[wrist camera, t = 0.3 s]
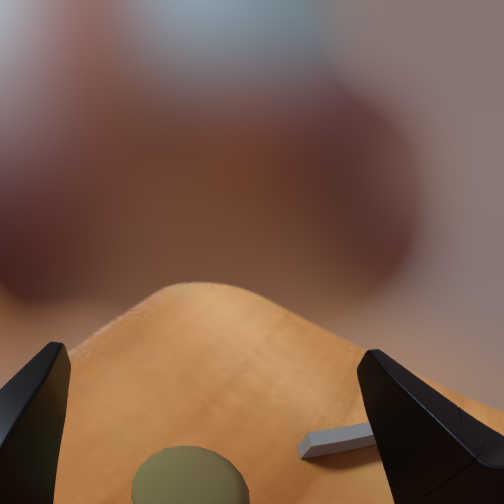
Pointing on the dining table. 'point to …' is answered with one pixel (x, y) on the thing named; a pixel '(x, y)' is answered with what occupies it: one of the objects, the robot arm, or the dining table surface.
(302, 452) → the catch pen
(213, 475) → the olive pawn
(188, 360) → the dining table surface
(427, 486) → the robot arm
